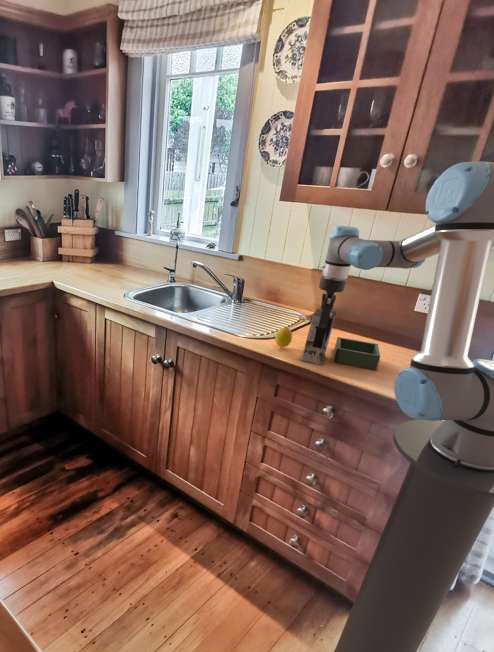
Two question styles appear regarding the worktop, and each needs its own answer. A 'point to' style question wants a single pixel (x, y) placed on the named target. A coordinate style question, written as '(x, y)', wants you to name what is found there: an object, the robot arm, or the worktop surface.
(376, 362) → the box
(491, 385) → the robot arm
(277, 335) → the lemon
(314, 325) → the coffee box
